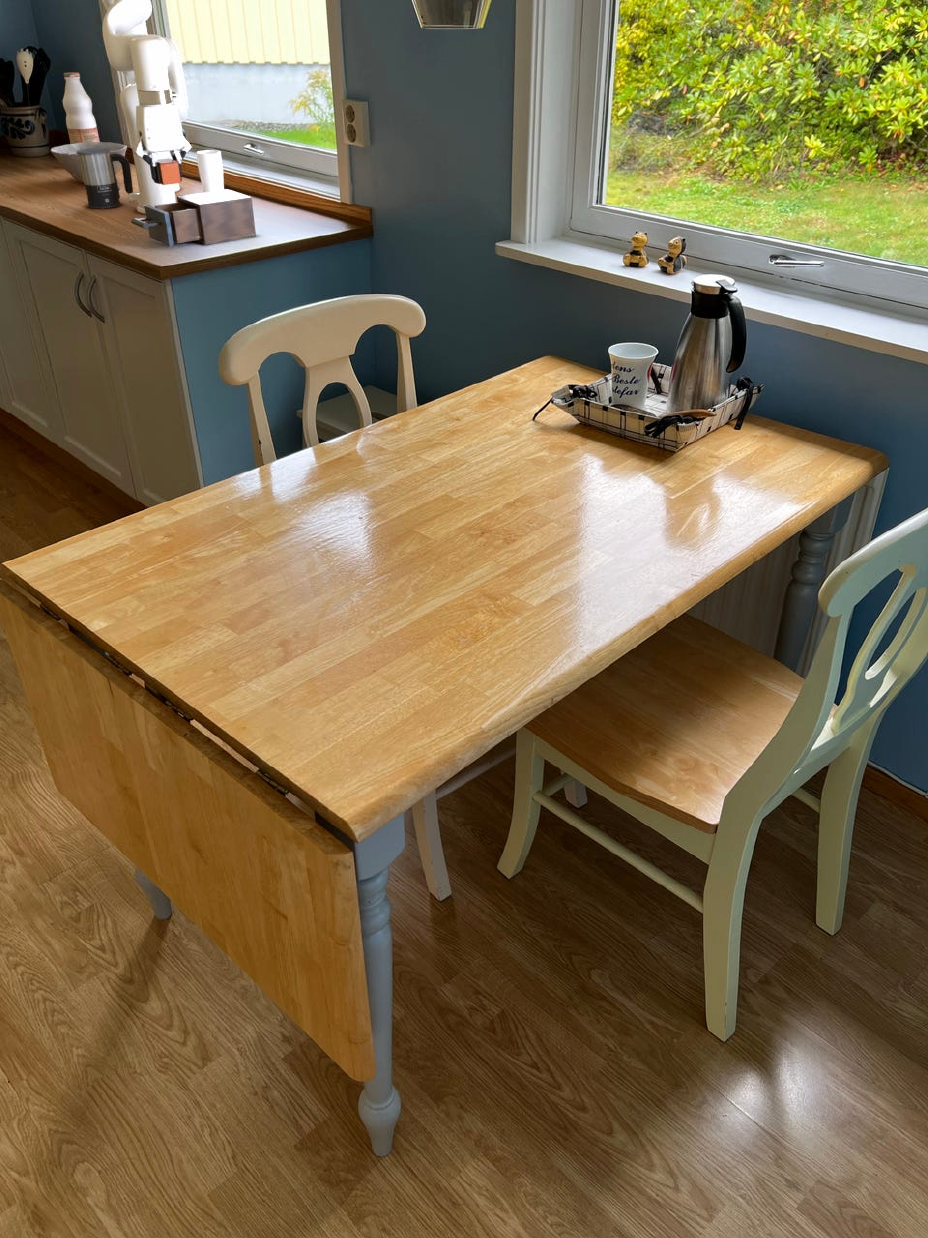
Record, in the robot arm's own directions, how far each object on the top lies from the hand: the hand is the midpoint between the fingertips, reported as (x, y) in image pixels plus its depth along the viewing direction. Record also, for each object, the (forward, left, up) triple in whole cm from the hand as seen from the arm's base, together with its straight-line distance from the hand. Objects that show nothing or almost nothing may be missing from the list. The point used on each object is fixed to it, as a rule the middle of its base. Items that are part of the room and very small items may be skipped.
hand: (167, 180), depth 239 cm
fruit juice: (-76, +90, -15) cm, 119 cm away
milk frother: (-41, +38, -15) cm, 58 cm away
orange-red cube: (0, 0, 0) cm, 0 cm away
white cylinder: (-6, +38, -15) cm, 41 cm away
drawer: (0, -1, -14) cm, 14 cm away
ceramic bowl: (-60, +66, -15) cm, 91 cm away
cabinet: (+8, +8, -14) cm, 18 cm away
